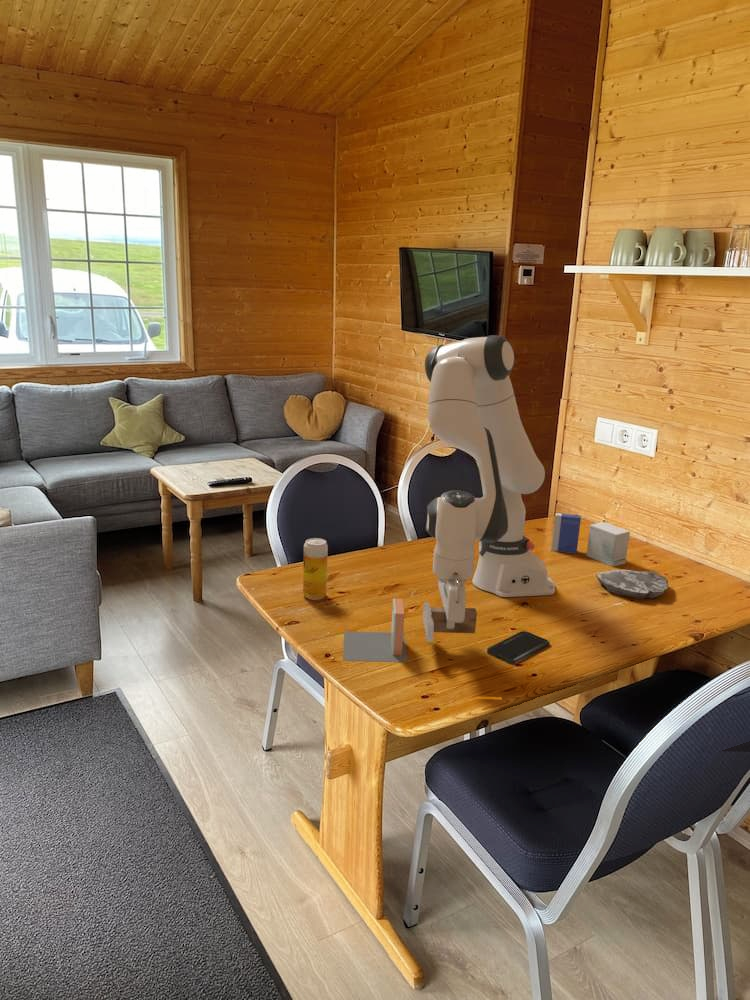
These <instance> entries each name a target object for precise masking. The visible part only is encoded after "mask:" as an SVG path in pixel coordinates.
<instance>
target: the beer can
mask: <svg viewBox="0 0 750 1000" xmlns="http://www.w3.org/2000/svg"><path fill="white" fill-rule="evenodd" d="M328 548H329V546H328V542H327V540H326V539H323V538H321V537H319V538H318V537H311V538H308V539H306V540H305V543H304V544H303V567H302V569H303V570H302V571H303V574H302V576H303V577H302V580H303V581H302V582H303V583H302V595H303V596H304V597H305V598H306V599H307V598H308V600H310V599H311V601H319V600H322V599H324V598H325V596H326V595H327V590H328V589H327V585H328V556H329V555H328V551H329V549H328Z"/></svg>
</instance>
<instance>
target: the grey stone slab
mask: <svg viewBox="0 0 750 1000" xmlns="http://www.w3.org/2000/svg"><path fill="white" fill-rule="evenodd" d="M595 575H596V576H595V577H596V579H597V581H598V582H599V583H600V584H601V585H602V586H604V587H605V588H606V589H607V592H609V593H612V594H615V595H621V596H625V597H628V598H630V597H631V598H634V599H645V598H647V599H654V598H657V597H660V596H661V595H663V594H664V593H665V592H666V591H667V590H668V589H669V587H668V586H669V580H668V578H666V577H665V576H663V575H661V574H659V573H657V572H654V571H637V570H631V569H612V570H609V571H605V572H604V571H603V572H597V573H596V574H595Z"/></svg>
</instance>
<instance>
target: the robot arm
mask: <svg viewBox="0 0 750 1000" xmlns="http://www.w3.org/2000/svg"><path fill="white" fill-rule="evenodd" d="M514 366H515V352H514V349H513V345H512V344H511V341H509V339H507V338H506V337H505V336H503V335H491V334H490V335H488V336H480V337H479V336H478V337H471V338H470V337H469V338H464V339H463V340H458V341H453V342H451V343H447V344H440V345H439V344H438V345H437V346H435V347H432V348H430V349H429V351H428V353H427V355H426V357H425V361H424V371H425V375H426V377H427V379H428V381H429V383H430V385H429V392H428V393H429V394H428V421H429V422H428V424H429V428H430V430H431V432H432V433H433V435H434V436H436V438H437V439H438V440H440V441H442V442H443V443H445V444H446V445H448V446H451V447H453V448H456V449H458V450H460V451H463V452H464V453H466V454H468V455H469V456H471V457H473V459H474V460H475V462H476V465H477V468H478V471H479V477H480V482H481V489H482V497H475V496H474V495H473V494H472V493H469V492H468V491H465V490H456V489H455V490H454V489H453V490H447V491H446V492H443V493H442V494H441V495H440V496H439V497H435V498H434V499H432V500H431V501H430V502H429V503H428V505H427V506H426V509H427V510H426V512H427V515H426V522H425V531H426V532H427V533H428V534H429V535H430V536H431V537H432V539H436V543H435V546H434V550H433V560H432V561H433V562H432V573H433V574H434V575H435V576H436V577H437V585H438V587H437V588H438V589H439V593H440V598H441V601H442V605H443V607H444V610H445V614H446V618H447V619H446V627H447V628H448V629H453V628H454V627H455V623H462V622H463V621H464V618H465V608H466V603H467V601H466V598H467V597H466V593H467V592H466V587H465V583H467V581H468V579H470V578H471V577H472V579H471V582H472V584H473V585H474V586H475V587H476V588H478V589H480V590H482V591H486V592H488V593H492V594H494V595H496V596H499V597H501V598H512V597H513V598H515V597H516V598H517V597H534V596H535V597H536V596H551V595H554V594H555V593H556V586H555V582H554V581H553V580H552V578H550V577H549V576H548V569H547V566H546V564H545V563H544V562H543V561H542V559H541V558H539V557H538V556H537V555H535V554H534V552H532V551H533V550H534V549H535V548H536V547H535V544H534V543H533V542H532V541H531V540H530V539H529V538H528V537H527V536H526V535H524V533H525V532H524V531H525V524H526V523H525V521H526V513H527V511H526V506H525V504H524V502H523V498H522V495H529V494H533V493H534V492H537V491H538V490H539V489H540V487H541V486H542V485H543V483H544V481H545V478H546V476H545V475H546V472H545V467H544V465H543V464H542V462H541V461H540V459H539V458H538V456H537V455H536V452H535V451H534V448H533V446H532V443H531V441H530V440H529V437H528V434H527V432H526V430H525V427H524V426H523V423H522V420H521V417H520V413H519V409H518V405H517V404H518V403H517V401H516V396H515V392H514V388H513V385H512V381H511V378H510V374H511V373H512V371H513V369H514ZM475 541H478V553H479V555H478V561H477V563H476V565H477V566H476V568H475V572H474V566H475V554H476V553H475V548H474V547H475V545H474V544H475Z"/></svg>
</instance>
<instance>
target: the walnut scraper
mask: <svg viewBox="0 0 750 1000" xmlns="http://www.w3.org/2000/svg"><path fill="white" fill-rule="evenodd" d="M477 614H478V612H477V609H476V608H475V607H472V608H471V607H465V618H464V621H463V622H462V623H455V627H454V628H453V629H448V628H447V627H446V619H447V618H446V614H445V610H444V606H443V607H442V606H431V605H430V602H429V601H423V607H422V621H423V626H424V632H425V637H426V642H427V643H433V642H434V633H445V634H448V633H449V634H476V628H477V627H476V625H477V617H478V615H477Z"/></svg>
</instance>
